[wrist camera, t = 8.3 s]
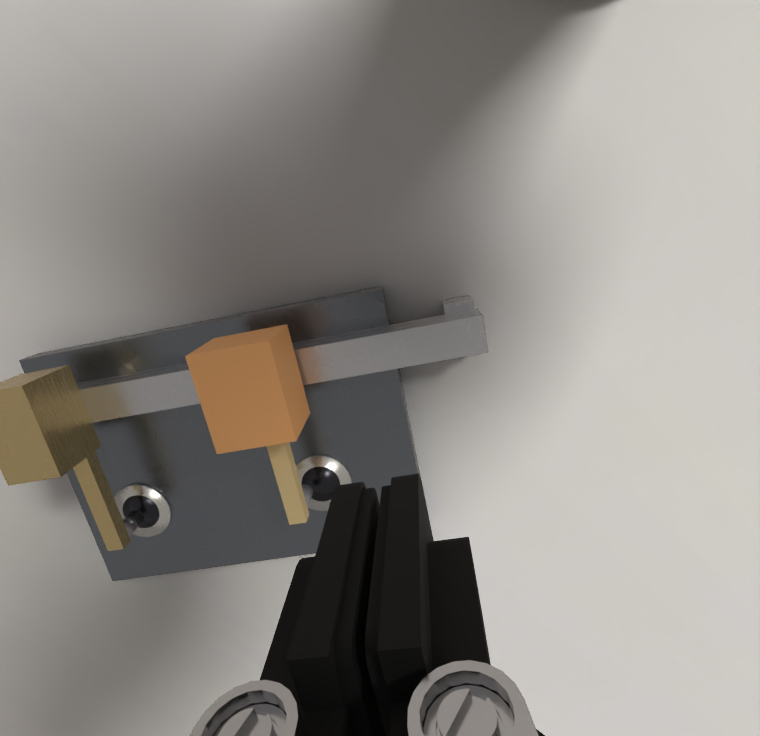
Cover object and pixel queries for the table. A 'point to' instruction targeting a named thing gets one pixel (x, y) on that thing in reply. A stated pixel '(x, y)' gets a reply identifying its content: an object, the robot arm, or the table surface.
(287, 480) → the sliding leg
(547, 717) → the table surface
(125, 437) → the bolt plate
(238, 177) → the table surface
